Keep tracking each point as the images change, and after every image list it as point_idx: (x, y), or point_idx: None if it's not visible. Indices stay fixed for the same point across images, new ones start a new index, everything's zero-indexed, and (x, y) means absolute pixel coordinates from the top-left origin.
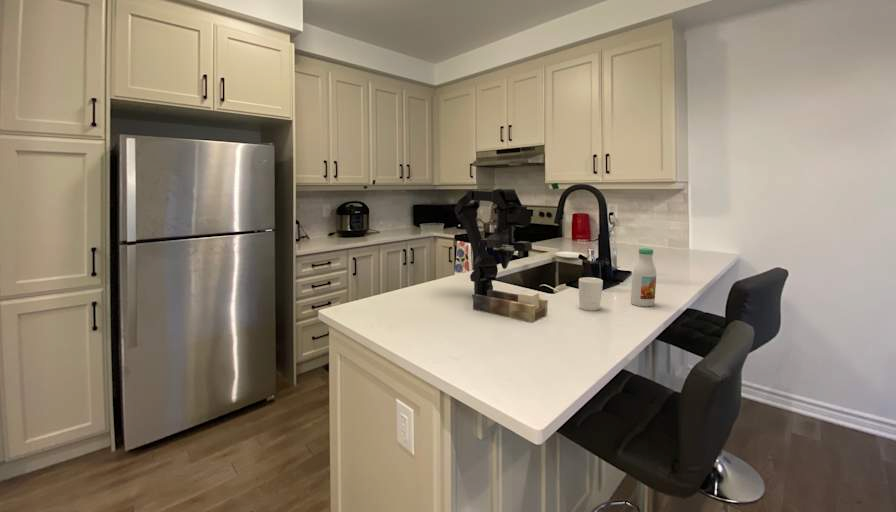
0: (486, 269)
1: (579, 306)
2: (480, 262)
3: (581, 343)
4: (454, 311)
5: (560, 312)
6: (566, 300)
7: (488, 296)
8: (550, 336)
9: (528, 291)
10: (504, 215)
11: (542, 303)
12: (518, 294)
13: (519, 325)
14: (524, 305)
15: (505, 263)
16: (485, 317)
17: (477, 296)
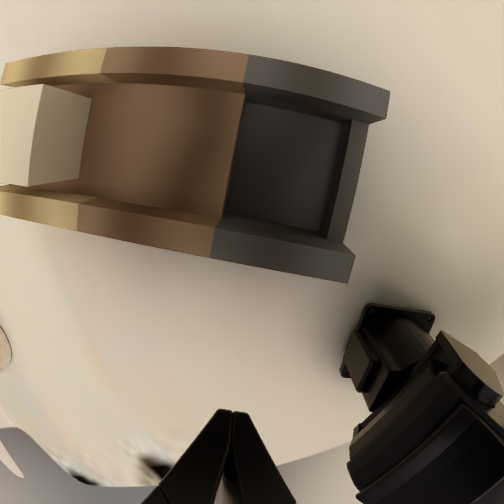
0: (432, 412)
1: (2, 333)
2: (499, 432)
3: None
4: (411, 47)
5: (10, 252)
6: (67, 400)
7: (334, 242)
8: (3, 12)
9: (13, 178)
10: None
11: (4, 187)
12: (44, 85)
13: (80, 14)
14: (36, 57)
15: (186, 451)
16: (240, 12)
17: (354, 80)
